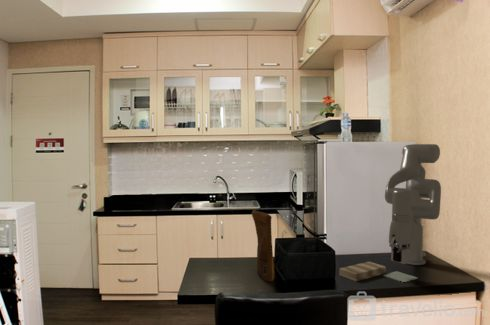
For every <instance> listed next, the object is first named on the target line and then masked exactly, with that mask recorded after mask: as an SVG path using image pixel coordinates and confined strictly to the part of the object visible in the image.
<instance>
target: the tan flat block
mask: <svg viewBox="0 0 490 325" xmlns="http://www.w3.org/2000/svg"><path fill="white" fill-rule="evenodd" d="M386 270H387V268H386V266H385V265H382V264H378V263H375V262H372V261H366V262H362V263H356V264H353V265H349V266H344V267H340V268H339V271H338V272H339V273H338V274H339V276H340V277H343V278H346V279H348V280H351V281H354V282H358V281H362V280H366V279H369V278H374V277H376V276H381V275H385V274H387V273H386V272H387V271H386Z"/></svg>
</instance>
